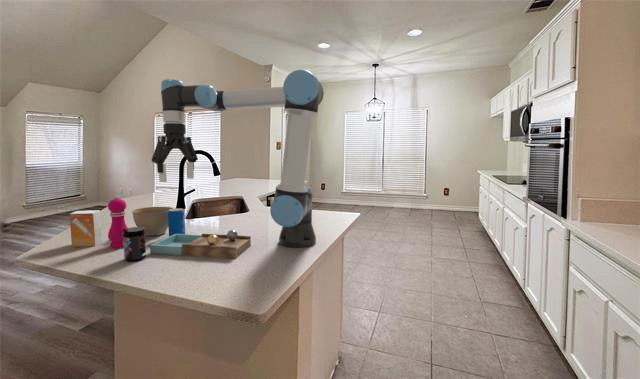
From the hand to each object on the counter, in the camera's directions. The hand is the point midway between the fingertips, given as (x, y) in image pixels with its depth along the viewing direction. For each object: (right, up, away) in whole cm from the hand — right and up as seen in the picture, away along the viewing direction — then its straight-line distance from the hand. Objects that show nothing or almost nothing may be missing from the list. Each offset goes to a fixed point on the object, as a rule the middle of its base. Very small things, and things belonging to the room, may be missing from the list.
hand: (177, 180), depth 125 cm
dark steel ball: (+21, -21, +1) cm, 29 cm away
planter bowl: (-19, -23, +21) cm, 36 cm away
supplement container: (-9, -28, -12) cm, 31 cm away
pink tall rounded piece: (-23, -26, +1) cm, 34 cm away
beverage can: (-7, -24, +15) cm, 29 cm away
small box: (-37, -25, +3) cm, 45 cm away
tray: (0, -26, 0) cm, 26 cm away
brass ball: (+16, -22, -6) cm, 28 cm away
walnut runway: (+16, -26, -2) cm, 31 cm away
